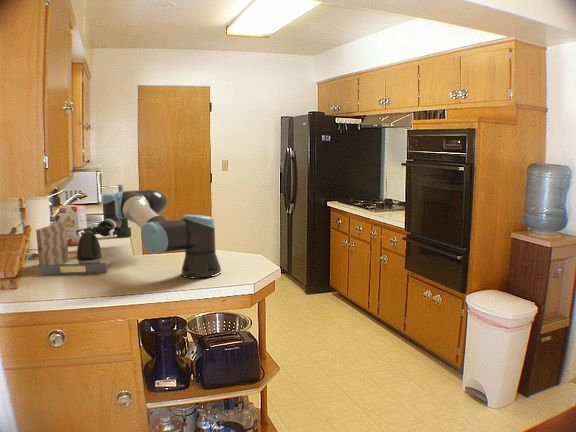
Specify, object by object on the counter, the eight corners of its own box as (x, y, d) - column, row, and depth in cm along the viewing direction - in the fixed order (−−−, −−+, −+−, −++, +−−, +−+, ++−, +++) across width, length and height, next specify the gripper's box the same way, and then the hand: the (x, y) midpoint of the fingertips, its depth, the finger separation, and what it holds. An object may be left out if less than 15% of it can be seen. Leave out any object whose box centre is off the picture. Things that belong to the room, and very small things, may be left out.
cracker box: (61, 244, 272) (58, 205, 269) (71, 242, 277) (67, 204, 274) (79, 246, 265) (76, 206, 262) (88, 243, 271) (85, 205, 268)
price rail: (105, 273, 202) (105, 263, 201) (40, 275, 202) (39, 265, 201) (107, 272, 204) (106, 262, 203) (43, 274, 204) (42, 264, 203)
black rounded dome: (94, 262, 224) (92, 228, 222) (107, 265, 217) (105, 230, 215) (72, 266, 216) (69, 231, 214) (85, 269, 210) (82, 233, 208)
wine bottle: (116, 236, 293) (112, 184, 289) (130, 235, 296) (126, 183, 292) (117, 238, 286) (114, 185, 282) (132, 237, 289) (128, 184, 285)
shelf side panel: (43, 273, 205) (39, 229, 202) (40, 273, 205) (36, 230, 202) (68, 260, 229) (65, 221, 226) (65, 260, 229) (62, 221, 226)
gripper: (133, 234, 248) (123, 242, 227) (81, 236, 245) (66, 244, 225) (132, 219, 247) (122, 225, 226) (79, 220, 244) (64, 227, 224)
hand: (94, 235), depth 225 cm, fingers open, 13 cm apart
